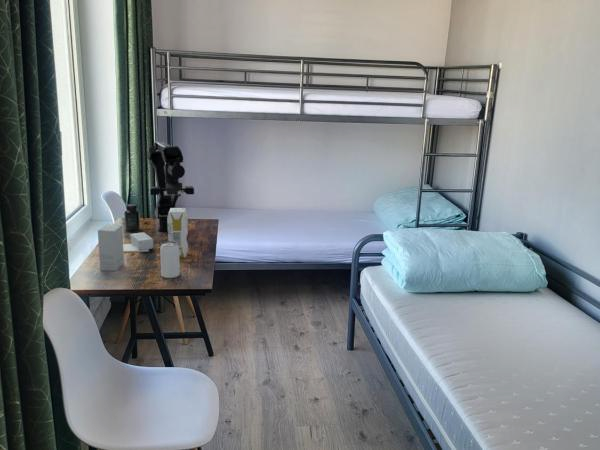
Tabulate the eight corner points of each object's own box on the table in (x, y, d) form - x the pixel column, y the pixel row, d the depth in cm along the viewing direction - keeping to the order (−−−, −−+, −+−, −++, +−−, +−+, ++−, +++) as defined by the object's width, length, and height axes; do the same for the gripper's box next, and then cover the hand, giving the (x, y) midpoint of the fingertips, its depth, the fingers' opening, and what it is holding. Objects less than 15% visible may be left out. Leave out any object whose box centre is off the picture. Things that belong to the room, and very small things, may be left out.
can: (162, 279, 177) (161, 246, 174) (160, 273, 183) (158, 241, 180) (181, 277, 180) (180, 245, 177) (178, 271, 186) (177, 240, 183)
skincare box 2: (130, 243, 216) (139, 250, 206) (130, 233, 215) (138, 240, 205) (144, 241, 219) (153, 248, 210) (144, 231, 218) (153, 238, 208)
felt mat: (120, 245, 214) (120, 244, 214) (150, 244, 217) (149, 243, 217) (118, 252, 205) (118, 251, 205) (148, 251, 208) (148, 250, 207)
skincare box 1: (108, 263, 192) (105, 223, 188) (125, 264, 192) (123, 224, 188) (99, 270, 184) (96, 229, 180) (117, 271, 184) (114, 230, 180)
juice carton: (168, 259, 199) (166, 212, 194) (170, 252, 207) (168, 207, 202) (187, 258, 200) (186, 212, 195) (189, 252, 208) (187, 207, 204)
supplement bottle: (127, 227, 242) (125, 203, 239) (141, 227, 243) (140, 203, 240) (123, 231, 236) (122, 206, 233) (138, 231, 236) (137, 206, 233)
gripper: (148, 177, 212) (150, 214, 216) (194, 177, 216) (195, 213, 220) (150, 173, 222) (151, 208, 226) (193, 173, 227) (194, 207, 230)
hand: (173, 209), depth 225 cm, fingers closed
